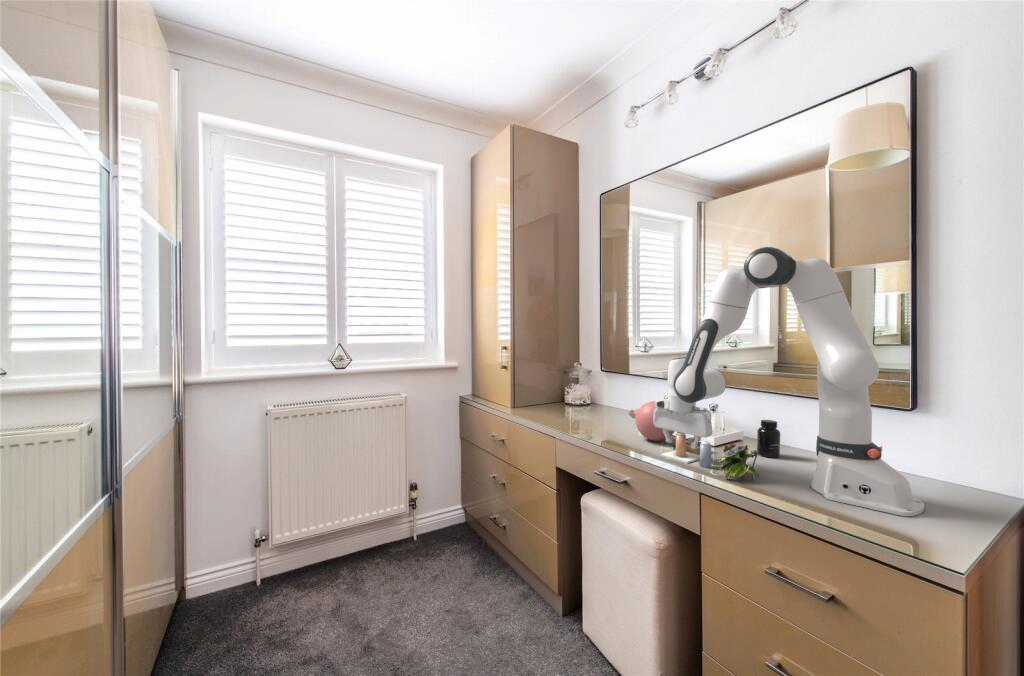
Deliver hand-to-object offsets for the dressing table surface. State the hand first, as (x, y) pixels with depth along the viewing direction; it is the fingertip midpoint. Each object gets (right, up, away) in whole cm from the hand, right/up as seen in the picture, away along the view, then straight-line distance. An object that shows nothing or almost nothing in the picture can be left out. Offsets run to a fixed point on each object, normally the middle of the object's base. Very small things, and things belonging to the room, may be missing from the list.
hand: (681, 445), depth 143 cm
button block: (+8, -4, +8) cm, 12 cm away
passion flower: (+10, -5, -18) cm, 21 cm away
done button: (+8, -3, +8) cm, 11 cm away
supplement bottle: (+31, -4, +3) cm, 31 cm away
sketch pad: (+1, -4, +1) cm, 4 cm away
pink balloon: (-3, -4, +24) cm, 25 cm away
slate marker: (+4, -4, -9) cm, 11 cm away
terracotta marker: (0, -4, 0) cm, 4 cm away
